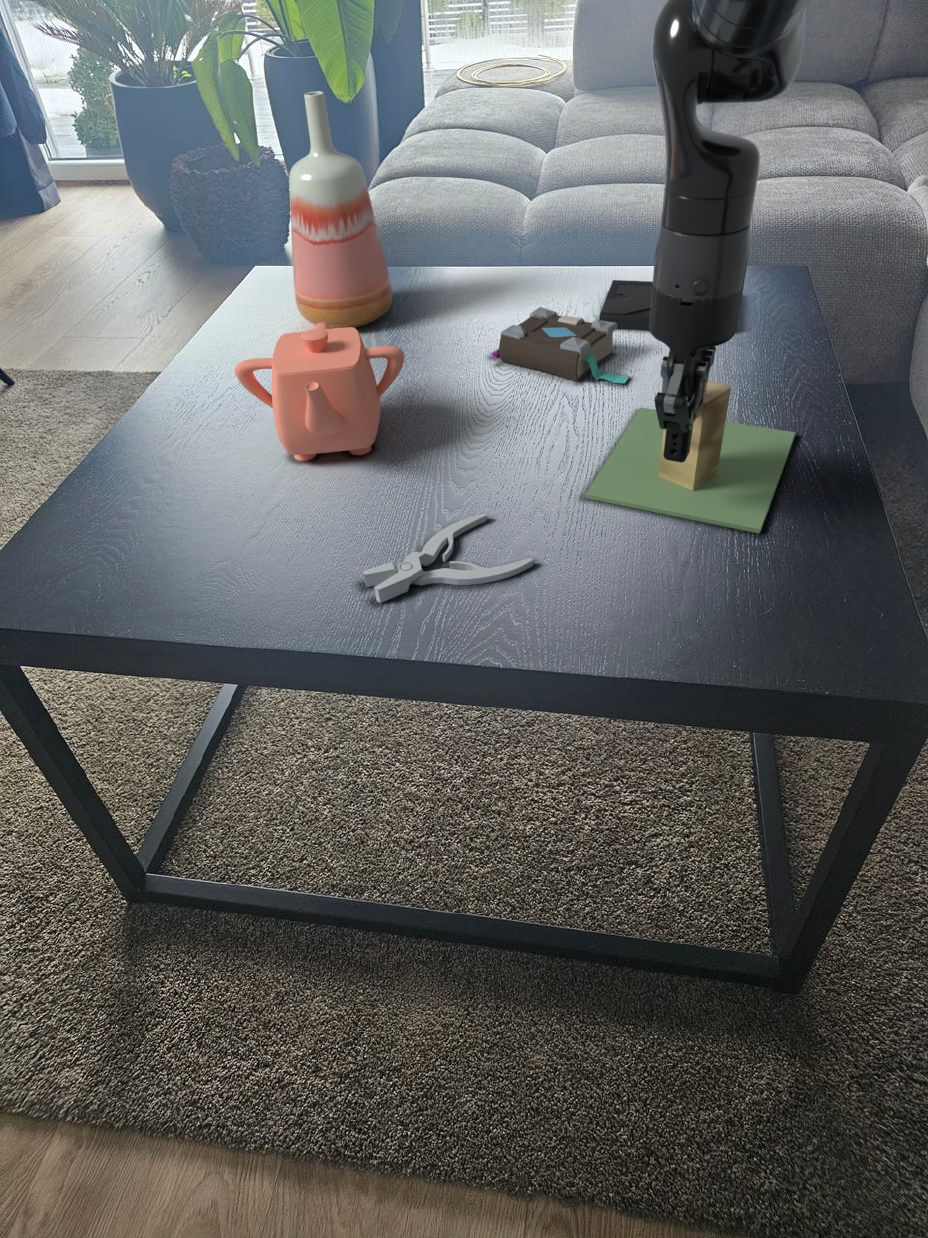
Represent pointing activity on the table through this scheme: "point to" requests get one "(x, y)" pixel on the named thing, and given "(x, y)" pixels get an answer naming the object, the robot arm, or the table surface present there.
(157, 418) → the table surface
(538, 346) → the book
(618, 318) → the picture frame
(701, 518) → the mat
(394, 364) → the teapot
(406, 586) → the pliers
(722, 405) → the block
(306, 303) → the vase
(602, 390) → the table surface
